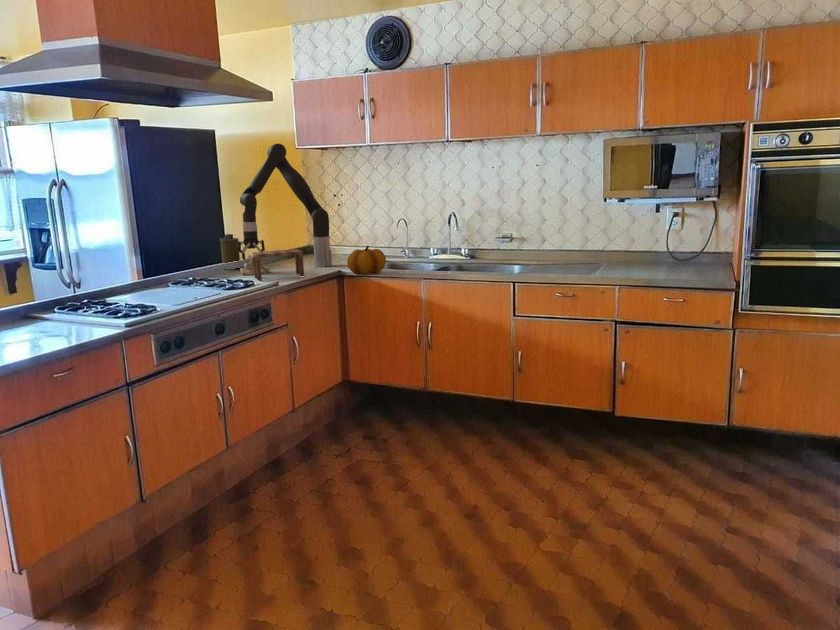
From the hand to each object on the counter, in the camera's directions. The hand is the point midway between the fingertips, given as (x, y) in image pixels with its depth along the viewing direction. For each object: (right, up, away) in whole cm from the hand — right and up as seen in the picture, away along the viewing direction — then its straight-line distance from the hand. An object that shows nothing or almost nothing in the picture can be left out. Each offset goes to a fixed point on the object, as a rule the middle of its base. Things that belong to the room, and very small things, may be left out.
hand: (252, 259), depth 367 cm
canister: (-17, -4, +19) cm, 26 cm away
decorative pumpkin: (+65, -9, -14) cm, 67 cm away
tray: (0, -7, +4) cm, 8 cm away
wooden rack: (+19, -11, -19) cm, 29 cm away
